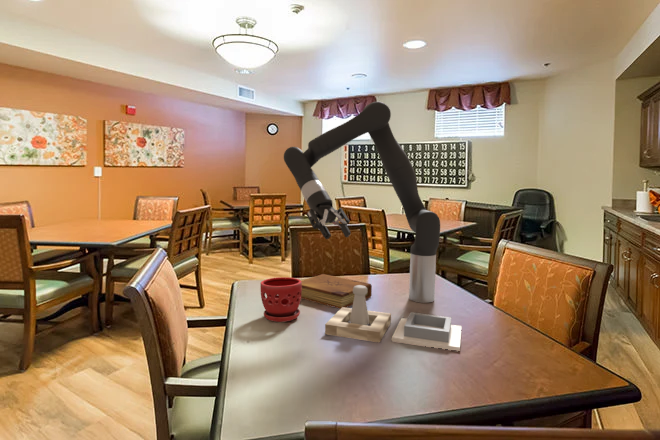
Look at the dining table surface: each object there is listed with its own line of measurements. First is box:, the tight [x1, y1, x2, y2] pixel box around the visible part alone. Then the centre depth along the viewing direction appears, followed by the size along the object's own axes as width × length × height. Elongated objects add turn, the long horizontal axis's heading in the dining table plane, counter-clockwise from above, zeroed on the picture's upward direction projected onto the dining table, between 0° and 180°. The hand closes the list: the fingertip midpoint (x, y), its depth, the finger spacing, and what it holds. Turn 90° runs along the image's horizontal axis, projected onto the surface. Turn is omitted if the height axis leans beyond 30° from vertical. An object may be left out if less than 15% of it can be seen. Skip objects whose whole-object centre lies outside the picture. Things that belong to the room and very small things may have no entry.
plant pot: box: [260, 276, 302, 323], centre depth 130 cm, size 13×13×12 cm
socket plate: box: [391, 311, 463, 352], centre depth 117 cm, size 16×18×4 cm
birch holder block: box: [324, 307, 392, 343], centre depth 121 cm, size 16×16×3 cm
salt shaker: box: [349, 285, 370, 326], centre depth 121 cm, size 6×6×13 cm
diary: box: [301, 273, 373, 310], centre depth 153 cm, size 23×19×6 cm
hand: (338, 236), depth 126 cm, fingers open, 8 cm apart
